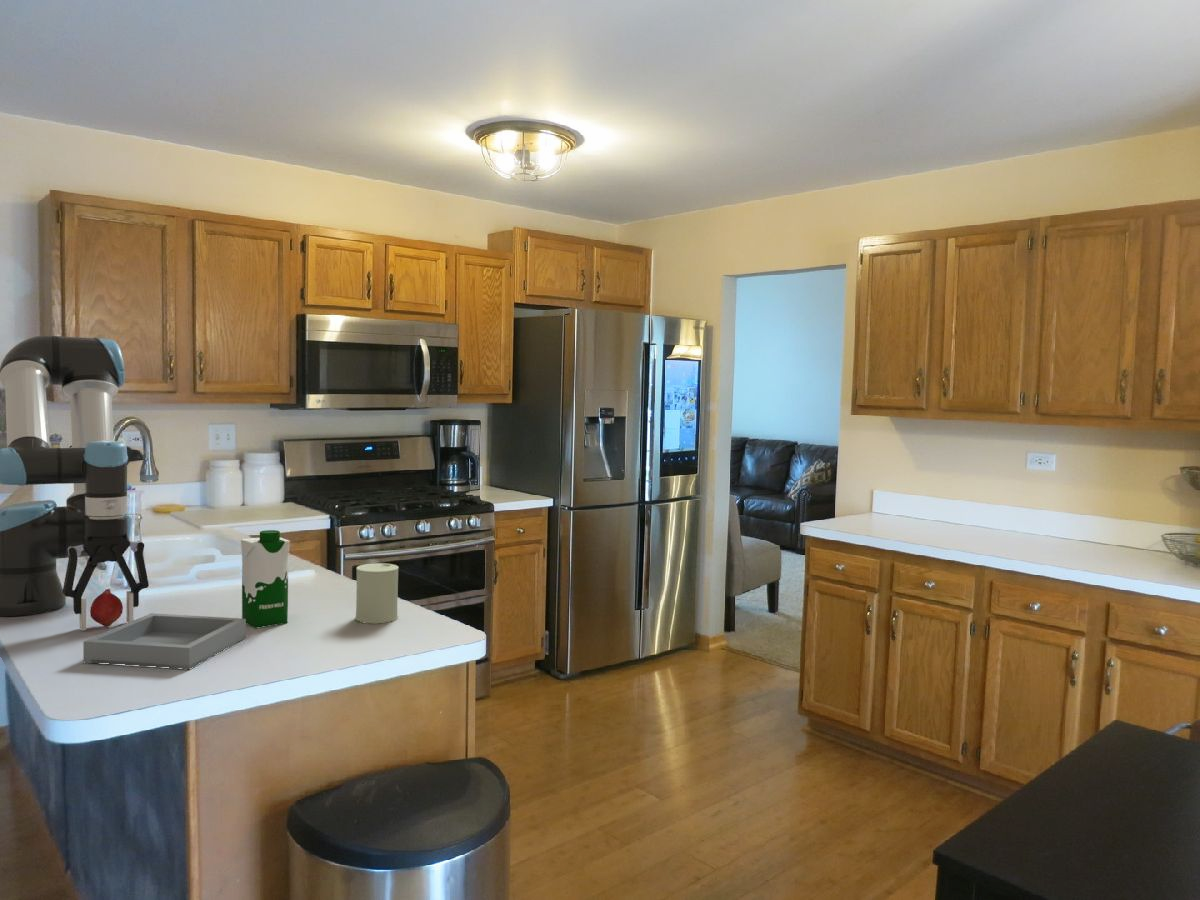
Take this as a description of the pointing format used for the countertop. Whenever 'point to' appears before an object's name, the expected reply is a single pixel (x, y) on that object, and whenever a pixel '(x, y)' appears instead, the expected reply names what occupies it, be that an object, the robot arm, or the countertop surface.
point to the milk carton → (265, 579)
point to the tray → (165, 641)
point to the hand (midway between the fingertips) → (106, 625)
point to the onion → (106, 608)
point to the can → (377, 593)
